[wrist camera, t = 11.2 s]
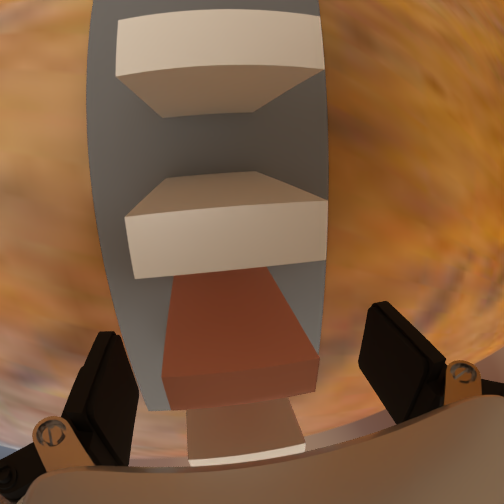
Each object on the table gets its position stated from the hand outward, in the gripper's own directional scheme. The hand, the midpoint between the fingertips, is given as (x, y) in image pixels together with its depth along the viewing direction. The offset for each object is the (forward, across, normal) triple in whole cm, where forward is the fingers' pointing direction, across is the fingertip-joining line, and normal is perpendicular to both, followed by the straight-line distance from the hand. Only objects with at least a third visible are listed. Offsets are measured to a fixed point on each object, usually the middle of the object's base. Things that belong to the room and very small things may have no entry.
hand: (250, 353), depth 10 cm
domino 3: (+8, +1, 0) cm, 8 cm away
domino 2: (+8, +1, -5) cm, 10 cm away
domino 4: (+8, +1, +5) cm, 10 cm away
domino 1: (+8, +1, -10) cm, 13 cm away
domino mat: (+9, +1, -5) cm, 10 cm away
